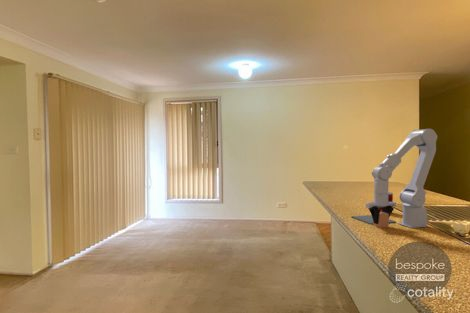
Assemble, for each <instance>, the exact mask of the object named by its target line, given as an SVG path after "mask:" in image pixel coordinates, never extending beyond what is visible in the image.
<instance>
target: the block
mask: <svg viewBox="0 0 470 313" xmlns="http://www.w3.org/2000/svg"><path fill="white" fill-rule="evenodd" d="M389 219H390V217H389V214H388V213H384V212H380V213H379V222H378V224H375V223H374V222H373V224H372V226H374V227H376V226H377V228H380V229H381V228H382V229H383V228H389V225H390V223H389Z"/></svg>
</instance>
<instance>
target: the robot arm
mask: <svg viewBox="0 0 470 313" xmlns="http://www.w3.org/2000/svg"><path fill="white" fill-rule="evenodd" d="M437 140H438V134H437V133H436V131H435V130H434V129H432V128H425V129H423V128H422V129H413V130H411V132H409V134H407V136H406V138H405V139H404V141H402V144H401V145H400V146H399V147H398V148H397V149H396V151H394V153H390V154H387V155H386V158H384V159H383V161H382V162H380V163H379V165H377V166H375V167H374V168H373V170H372V171H371V176H372V177H373V182H374V185H373V186H374V188H373V191H374V192H373V201H372V202H366V203H365V208H366V209H368V210H369V212H370V215H372V218H373V222H374V223H375V224H378V222H379V213H380V211H381V210H380V209H378V208H377V207H381V208H382V212H384V213H388V214H389V218H390V216H391V214H392V213H393V212H394V208H396V207H397V202H395V201H393V202H388V192H389V183H390V182H389V179H390V178H392V175H393V172H394V170H395V169H396V168H397V167H399V165H400V164H401V163H402V158H403V157H404V156H405V155H406V154H407V153H408V152H409V151H410V150H411V149H412V148H413V147H414V146H416V147H417V148H418V149H419V151H420V153H419V156H418V159H417V162H416V163H415V166H414V170H413V172H412V175H411V179H410V181H409V183H408V184H406V185H405V186H404V188H403V190H401V192H400V193H399V200H400V202H401V203H402V204H401V205H402V221H401V222H397V224H398V225H401V226H404V227H407V228H409V229H412V228H413V229H415V228H416V229H417V228H427V227H429V225H428V212H427V208H426V207H425V206H424V205H425V203H426V195H427V192H426V190H425V188H424V186H425V183H426V180H427V177H428V175H429V171H430V169H431V166H432V163H433V160H434V157H435V155H436V152H437Z"/></svg>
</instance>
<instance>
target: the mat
mask: <svg viewBox="0 0 470 313" xmlns="http://www.w3.org/2000/svg"><path fill="white" fill-rule="evenodd" d="M351 219H355V220H357V221H360V222H362V223H365V224H367V225H370V224H371V225H373V218H372V215H371V214H366V215H353V216H351ZM395 223H397V221H396V220H392V219H390V218H389V224H395Z"/></svg>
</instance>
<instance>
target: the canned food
mask: <svg viewBox="0 0 470 313" xmlns="http://www.w3.org/2000/svg"><path fill="white" fill-rule="evenodd" d="M393 197H394V194H393V192H392V191H388V202H394V198H393ZM377 208H378V209H380V210H381V211H380V212H382V208H381V207H377Z"/></svg>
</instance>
